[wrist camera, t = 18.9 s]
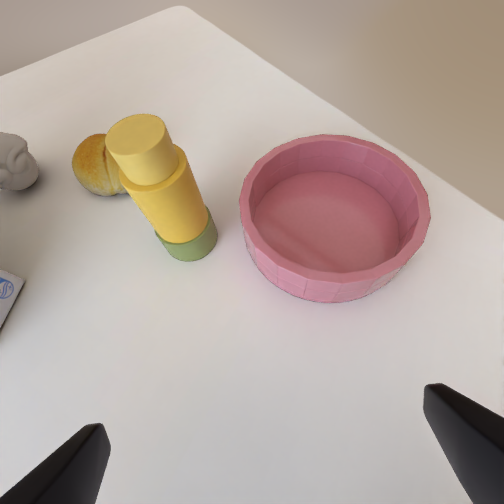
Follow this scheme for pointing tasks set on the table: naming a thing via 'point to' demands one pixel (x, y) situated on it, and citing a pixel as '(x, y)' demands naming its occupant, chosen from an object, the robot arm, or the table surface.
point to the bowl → (332, 216)
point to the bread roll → (97, 167)
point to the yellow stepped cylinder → (162, 185)
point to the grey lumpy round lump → (16, 163)
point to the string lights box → (8, 292)
